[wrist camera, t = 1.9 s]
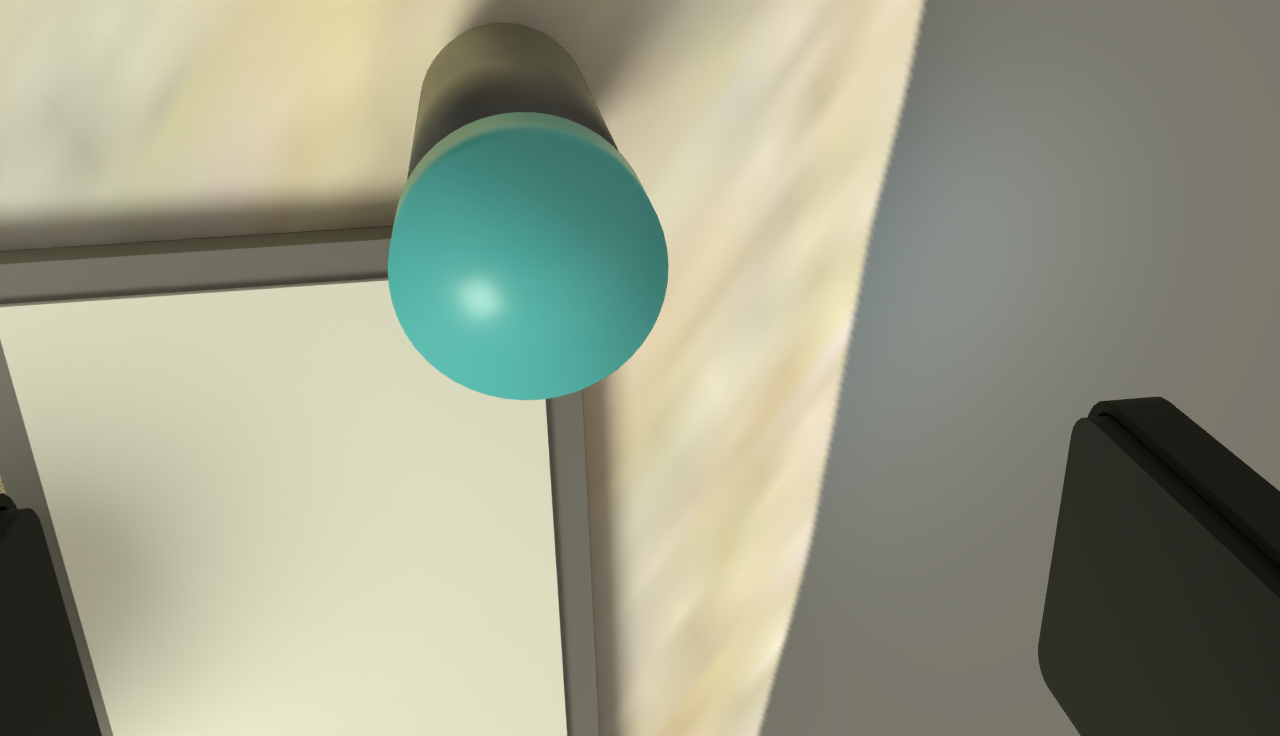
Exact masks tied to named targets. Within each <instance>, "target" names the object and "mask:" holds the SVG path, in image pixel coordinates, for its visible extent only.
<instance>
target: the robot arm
mask: <svg viewBox="0 0 1280 736" xmlns="http://www.w3.org/2000/svg"><path fill="white" fill-rule="evenodd" d="M1038 657H1039V665H1040V669H1041V673H1042V675H1043V678H1044V681H1045V683H1046V684H1047V686H1048V688H1049V689H1050V691H1051V692H1052V694H1053V695H1054V697H1055V698H1056V700H1057V701H1058V703H1059V704H1060V706H1061V707H1062V709H1063V710H1064V712H1065V713H1066V715H1067V716H1068V718H1069V719H1070V720H1071V722H1072V723H1073V725H1074V726H1075V728H1076V729H1077V731H1078V732H1079V734H1080V735H1081V736H1280V491H1278V490H1277V489H1276V488H1275V487H1274V486H1272V485H1271V484H1270V483H1269V482H1267V481H1266V480H1265V479H1264V478H1262V477H1261V476H1260V475H1259V474H1258V473H1256V472H1255V471H1254V470H1253V469H1252V468H1250V467H1249V466H1248V465H1247V464H1245V463H1244V462H1243V461H1242V460H1240V459H1239V458H1238V457H1237V456H1235V455H1234V454H1233V453H1232V452H1231V451H1229V450H1228V449H1227V448H1226V447H1224V446H1223V445H1222V444H1221V443H1219V442H1218V441H1217V440H1216V439H1214V438H1213V437H1212V436H1211V435H1210V434H1208V433H1207V432H1206V431H1205V430H1204V429H1202V428H1201V427H1200V426H1199V425H1197V424H1196V423H1195V422H1194V421H1192V420H1191V419H1190V418H1189V417H1188V416H1186V415H1185V414H1184V413H1182V412H1181V411H1180V410H1179V409H1178V408H1176V407H1175V406H1174V405H1173V404H1172V403H1170V402H1169V401H1167V400H1165V399H1164V398H1161V397H1147V398H1136V399H1123V400H1111V401H1100V402H1098V403H1097V404H1096V405H1094V406H1093V408H1092V409H1091V411H1090V413H1089V415H1088V418H1081V419H1079V420H1078V421H1077V422H1076V424H1075V425H1074V427H1073V431H1072V434H1071V440H1070V446H1069V453H1068V459H1067V465H1066V473H1065V478H1064V485H1063V491H1062V498H1061V504H1060V510H1059V517H1058V524H1057V529H1056V536H1055V542H1054V549H1053V555H1052V562H1051V567H1050V574H1049V580H1048V587H1047V593H1046V599H1045V606H1044V612H1043V619H1042V625H1041V632H1040V638H1039V645H1038ZM0 736H102V734H101V730H100V727H99V723H98V720H97V716H96V713H95V709H94V706H93V702H92V699H91V695H90V692H89V688H88V685H87V681H86V678H85V674H84V671H83V667H82V664H81V661H80V657H79V654H78V650H77V647H76V643H75V640H74V636H73V633H72V629H71V626H70V622H69V619H68V615H67V612H66V608H65V605H64V601H63V598H62V594H61V591H60V587H59V584H58V580H57V577H56V573H55V570H54V566H53V563H52V559H51V556H50V552H49V549H48V545H47V542H46V538H45V535H44V531H43V528H42V525H41V522H40V519H39V517H38V515H37V514H36V513H35V511H34V510H32V509H30V508H23V509H17V506H16V504H15V503H14V502H13V500H12V499H11V498H10V497H9V496H7V495H5V494H4V493H3V494H0Z"/></svg>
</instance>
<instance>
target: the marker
mask: <svg viewBox="0 0 1280 736" xmlns="http://www.w3.org/2000/svg"><path fill="white" fill-rule="evenodd" d="M667 281H668V255H667V247H666V242H665V238H664V233H663V230H662V227H661V225H660V222H659V219H658V217H657V214H656V212H655V210H654V208H653V206H652V204H651V202H650V200H649V198H648V196H647V194H646V192H645V190H644V188H643V186H642V184H641V183H640V181H639V179H638V177H637V175H636V173H635V172H634V170H633V169H632V167H631V166H630V165H629V163H628V162H627V161H626V159H625V158H624V157H623V156H622V155H621V154H620V153H619V151H618V149H617V147H616V145H615V142H614V140H613V138H612V136H611V134H610V132H609V130H608V128H607V126H606V124H605V122H604V120H603V118H602V115H601V113H600V111H599V109H598V107H597V105H596V103H595V101H594V99H593V97H592V95H591V93H590V90H589V88H588V86H587V84H586V82H585V80H584V78H583V76H582V74H581V72H580V70H579V68H578V66H577V65H576V63H575V62H574V60H573V59H572V58H571V56H570V55H569V54H568V53H567V52H566V51H565V49H564V48H563V47H562V46H560V45H559V44H558V43H557V42H556V41H554V40H553V39H552V38H550V37H548V36H547V35H545V34H543V33H541V32H539V31H537V30H535V29H532V28H529V27H525V26H522V25H516V24H503V23H498V24H489V25H485V26H481V27H477V28H474V29H472V30H469V31H467V32H465V33H463V34H461V35H460V36H458V37H456V38H455V39H454V40H452V41H451V42H450V43H448V44H447V45H446V46H445V47H444V48H443V49H442V50H441V51H440V52H439V54H438V55H437V56H436V58H435V59H434V60H433V62H432V64H431V66H430V67H429V69H428V71H427V74H426V76H425V79H424V81H423V86H422V90H421V95H420V101H419V108H418V114H417V121H416V127H415V133H414V140H413V146H412V153H411V159H410V165H409V172H408V178H407V182H406V184H405V186H404V189H403V191H402V194H401V196H400V199H399V202H398V206H397V210H396V215H395V220H394V225H393V231H392V237H391V243H390V249H389V258H388V284H389V290H390V295H391V300H392V304H393V307H394V310H395V313H396V315H397V318H398V320H399V322H400V324H401V326H402V328H403V330H404V332H405V334H406V336H407V337H408V338H409V340H410V341H411V343H412V344H413V346H414V347H415V348H416V350H417V351H418V352H419V353H420V354H421V355H422V356H423V357H424V358H425V359H426V361H428V362H429V363H430V364H431V365H432V366H433V367H435V368H436V369H437V370H438V371H439V372H441V373H442V374H444V375H445V376H447V377H448V378H450V379H451V380H453V381H454V382H456V383H459V384H461V385H463V386H465V387H467V388H469V389H471V390H474V391H477V392H480V393H483V394H486V395H490V396H494V397H499V398H504V399H514V400H541V399H548V398H555V397H559V396H563V395H567V394H571V393H574V392H577V391H579V390H582V389H584V388H587V387H589V386H591V385H593V384H595V383H597V382H599V381H600V380H602V379H604V378H606V377H607V376H608V375H610V374H611V373H613V372H614V371H616V370H617V369H618V368H619V367H621V366H622V365H623V364H624V363H625V362H626V361H627V360H628V359H629V358H631V356H632V355H633V354H634V353H635V352H636V351H637V350H638V348H639V347H640V346H641V345H642V344H643V342H644V341H645V339H646V338H647V336H648V335H649V333H650V332H651V330H652V328H653V326H654V324H655V322H656V320H657V318H658V316H659V313H660V310H661V307H662V304H663V301H664V298H665V292H666V287H667Z"/></svg>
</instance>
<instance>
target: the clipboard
mask: <svg viewBox="0 0 1280 736" xmlns="http://www.w3.org/2000/svg"><path fill="white" fill-rule="evenodd" d="M392 231H393V226H389V227H374V228H358V229H343V230H327V231H311V232H296V233H280V234H264V235H249V236H233V237H218V238H202V239H186V240H171V241H155V242H139V243H124V244H108V245H92V246H77V247H61V248H46V249H30V250H14V251H0V475H1V478H2V481H3V485H4V488H5V491H6V494H7V496H9V497H10V498H11V499H12V500H13V502H14V503H15V504H16V506H17V509H23V508H30V509H32V510H34V511H35V513H36V514H37V515H38V517H39V519H40V522H41V525H42V528H43V531H44V535H45V538H46V542H47V545H48V549H49V552H50V556H51V559H52V563H53V566H54V570H55V573H56V577H57V580H58V584H59V587H60V591H61V594H62V598H63V601H64V605H65V608H66V612H67V615H68V619H69V622H70V626H71V629H72V633H73V636H74V640H75V643H76V647H77V650H78V654H79V657H80V661H81V664H82V667H83V671H84V674H85V678H86V681H87V685H88V688H89V692H90V695H91V699H92V702H93V706H94V709H95V713H96V716H97V720H98V723H99V727H100V730H101V734H102V736H599V725H598V704H597V684H596V663H595V643H594V622H593V601H592V581H591V560H590V540H589V519H588V499H587V478H586V458H585V437H584V416H583V396H582V390H579V391H577V392H574V393H571V394H567V395H563V396H559V397H555V398H548V399H541V400H514V399H504V398H499V397H494V396H490V395H486V394H483V393H480V392H477V391H474V390H471V389H469V388H467V387H465V386H463V385H461V384H459V383H456V382H454V381H453V380H451V379H450V378H448V377H447V376H445V375H444V374H442V373H441V372H439V371H438V370H437V369H436V368H435V367H433V366H432V365H431V364H430V363H429V362H428V361H426V359H425V358H424V357H423V356H422V355H421V354H420V353H419V352H418V351H417V350H416V348H415V347H414V346H413V344H412V343H411V341H410V340H409V338H408V337H407V336H406V334H405V332H404V330H403V328H402V326H401V324H400V322H399V320H398V318H397V315H396V313H395V310H394V307H393V304H392V300H391V295H390V290H389V284H388V258H389V249H390V243H391V237H392Z"/></svg>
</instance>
